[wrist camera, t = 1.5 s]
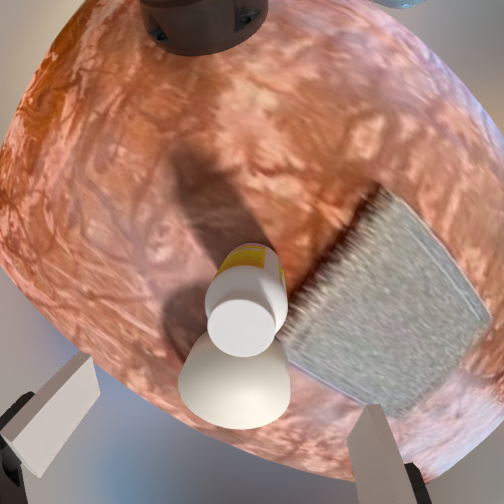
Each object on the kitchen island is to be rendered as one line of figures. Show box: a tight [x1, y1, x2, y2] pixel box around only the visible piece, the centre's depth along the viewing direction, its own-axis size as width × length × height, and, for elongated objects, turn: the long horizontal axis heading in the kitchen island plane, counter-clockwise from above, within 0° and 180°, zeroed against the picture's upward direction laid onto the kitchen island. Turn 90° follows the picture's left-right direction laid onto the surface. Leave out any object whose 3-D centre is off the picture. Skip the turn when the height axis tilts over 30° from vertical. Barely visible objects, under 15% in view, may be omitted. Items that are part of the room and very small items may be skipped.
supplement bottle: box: [205, 243, 288, 357], centre depth 24 cm, size 7×7×13 cm
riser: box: [178, 331, 290, 429], centre depth 31 cm, size 13×13×6 cm
